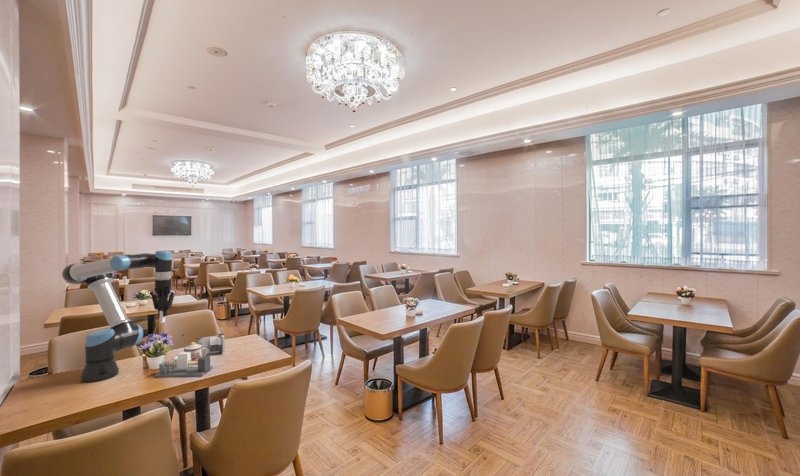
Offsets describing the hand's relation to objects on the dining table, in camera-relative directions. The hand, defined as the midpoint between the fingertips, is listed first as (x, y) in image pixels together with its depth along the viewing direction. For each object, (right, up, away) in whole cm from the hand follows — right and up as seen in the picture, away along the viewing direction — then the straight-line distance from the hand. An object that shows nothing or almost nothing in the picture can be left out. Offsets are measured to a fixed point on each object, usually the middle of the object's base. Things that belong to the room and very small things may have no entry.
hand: (162, 322), depth 192 cm
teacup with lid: (+11, -27, +13) cm, 32 cm away
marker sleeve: (+14, -24, -3) cm, 27 cm away
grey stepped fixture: (+14, -27, -3) cm, 30 cm away
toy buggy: (+13, -26, +23) cm, 38 cm away
